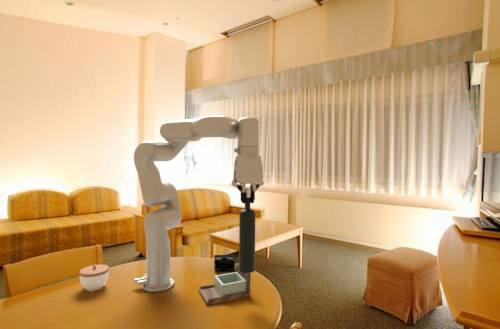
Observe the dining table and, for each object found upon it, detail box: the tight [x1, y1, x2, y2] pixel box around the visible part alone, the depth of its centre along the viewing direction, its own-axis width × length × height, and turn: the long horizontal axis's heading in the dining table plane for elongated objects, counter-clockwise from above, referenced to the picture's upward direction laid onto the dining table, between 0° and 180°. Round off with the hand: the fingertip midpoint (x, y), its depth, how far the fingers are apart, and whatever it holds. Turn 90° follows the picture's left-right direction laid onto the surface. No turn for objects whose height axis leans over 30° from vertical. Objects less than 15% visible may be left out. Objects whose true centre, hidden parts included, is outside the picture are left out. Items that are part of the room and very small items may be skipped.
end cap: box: [213, 254, 236, 273], centre depth 139 cm, size 10×7×7 cm
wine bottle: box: [238, 187, 256, 274], centre depth 106 cm, size 6×6×30 cm
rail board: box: [198, 262, 251, 306], centre depth 113 cm, size 17×12×9 cm
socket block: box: [213, 271, 246, 296], centre depth 114 cm, size 10×10×4 cm
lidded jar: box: [79, 264, 110, 292], centre depth 118 cm, size 11×11×9 cm
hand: (247, 202), depth 105 cm, fingers closed on wine bottle
